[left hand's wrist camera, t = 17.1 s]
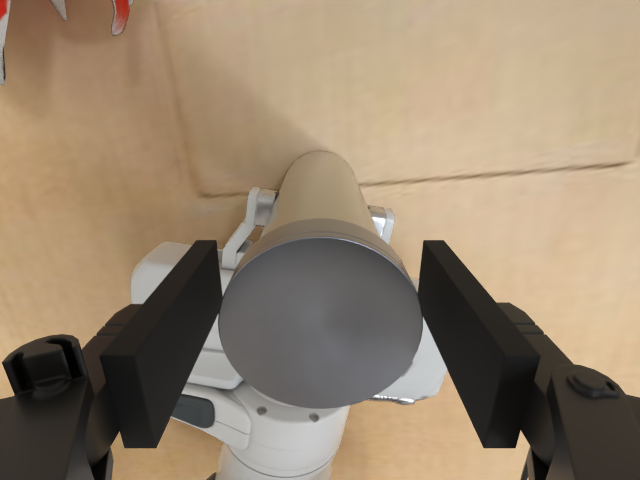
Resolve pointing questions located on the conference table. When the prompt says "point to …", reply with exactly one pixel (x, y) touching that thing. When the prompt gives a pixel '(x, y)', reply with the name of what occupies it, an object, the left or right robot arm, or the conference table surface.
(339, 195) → the bottle
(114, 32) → the fish
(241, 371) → the lid
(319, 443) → the right robot arm
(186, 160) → the conference table surface
